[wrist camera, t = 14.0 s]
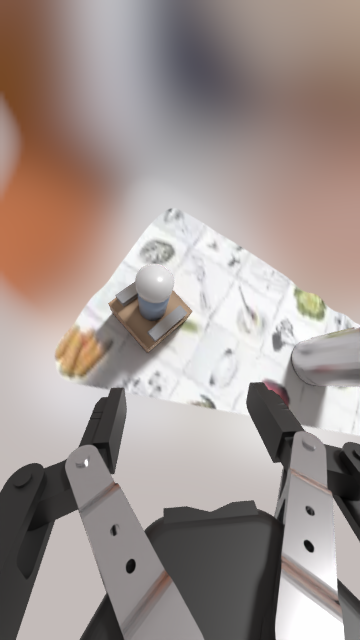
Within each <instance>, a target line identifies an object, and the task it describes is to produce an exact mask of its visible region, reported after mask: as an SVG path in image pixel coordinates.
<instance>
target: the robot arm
mask: <svg viewBox="0 0 360 640" xmlns="http://www.w3.org/2000/svg"><path fill="white" fill-rule="evenodd" d="M292 363H293V367H294V370H295V371H296V373H297V375H298V376H299V377H300V378H301V379H302V380H303V381H304V382H306V383H308V384H310V385H316V386H345V387H360V328H354V327H353V328H349V329H345V330H341V331H337V332H333V333H329V334H325V335H321V336H317V337H313V338H311V339H310V340H306V341H302V342H300V343H299V344H297V345H296V346H295V348H294V350H293V353H292ZM246 404H247V409H248V412H249V414H250V416H251V418H252V420H253V422H254V424H255V426H256V428H257V430H258V432H259V434H260V436H261V438H262V440H263V442H264V444H265V446H266V448H267V450H268V453H269V455H270V457H271V459H272V461H273V462H274V463H276V462H281V463H282V465H283V470H282V476H281V483H280V490H279V495H278V502H277V507H276V512H275V515H274V517H273V516H272V515H270V514H268V513H266V512H264V511H262V510H259V509H257V508H256V506H255V503H254V501H241V502H232V503H230V504H227V505H226V506H223V507H221V508H219V509H217V510H215V511H212V512H208V511H204V510H199V509H194V508H190V507H187V506H186V507H176V508H164V517H162V518H160V519H158V520H156V521H155V522H153V523H152V524H151V525H150V526H149V527H147V529H146V530H145V531H144V530H143V528H142V527H141V525H140V523H139V521H138V519H137V517H136V515H135V513H134V512H133V510H132V508H131V506H130V504H129V502H128V500H127V498H126V497H125V495H124V493H123V491H122V490H121V487H120V486H119V484H118V483H115V482H114V480H113V478H112V476H111V474H114V473H115V469H116V463H117V459H118V454H119V449H120V444H121V439H122V434H123V429H124V424H125V419H126V410H127V408H126V398H125V390H124V388H111V390H110V393H109V396H108V397H103V398H101V399H100V400H99V401H98V402H97V403H96V405H95V408H94V410H93V413H92V415H91V417H90V420H89V423H88V425H87V427H86V430H85V433H84V435H83V438H82V440H81V443H80V445H79V447H78V448H77V449H76V450H74V451H73V452H72V453H71V454H70V455H69V457H68V458H67V459H66V460H65V461H62V462H60V463H57V464H55V465H52V466H49V467H47V468H43V466H42V465H41V464H38V463H32V464H28V465H26V466H24V467H22V468H20V469H19V470H17V471H16V472H15V473H14V474H13V475H12V476H11V477H10V478H9V479H8V480H7V482H6V483H5V485H4V487H3V489H2V490H1V492H0V640H16V637H17V634H18V631H19V628H20V625H21V622H22V619H23V616H24V613H25V610H26V607H27V604H28V601H29V598H30V594H31V592H32V588H33V585H34V582H35V580H36V576H37V574H38V570H39V567H40V564H41V561H42V558H43V555H44V552H45V549H46V546H47V543H48V540H49V537H50V534H51V531H52V528H53V525H54V522H55V520H56V519H58V518H60V517H62V516H65V515H67V514H69V513H71V512H73V511H75V510H79V513H80V516H81V519H82V522H83V525H84V527H85V531H86V533H87V536H88V539H89V542H90V545H91V548H92V551H93V554H94V557H95V560H96V563H97V566H98V569H99V572H100V575H101V578H102V581H103V584H104V587H105V590H106V595H105V597H104V598H103V600H102V602H101V604H100V605H99V607H98V609H97V610H96V612H95V614H94V616H93V617H92V619H91V621H90V623H89V624H88V626H87V628H86V630H85V631H84V633H83V635H82V636H81V638H80V640H360V601H359V600H358V599H357V598H356V597H355V596H354V595H353V594H352V593H351V592H350V591H349V590H348V589H347V588H346V587H345V586H344V585H343V584H342V583H341V582H340V581H339V580H338V579H337V575H336V574H337V573H336V554H335V535H334V515H333V498H334V499H335V501H336V503H337V505H338V506H339V508H340V510H341V511H342V513H343V515H344V516H345V518H346V519H347V521H348V523H349V525H350V526H351V528H352V530H353V531H354V533H355V534H356V536H357V538H358V539H359V541H360V444H357V443H353V442H348V443H345V444H344V446H343V448H338V447H334V446H329V445H325V444H323V443H322V442H321V441H320V440H319V439H318V438H317V437H316V436H314V435H313V434H311V433H308V432H305V431H304V429H303V428H302V426H301V425H300V423H299V422H298V421H297V419H296V418H295V417H294V415H293V414H292V412H291V411H290V410H289V408H288V407H287V406H286V404H284V402H283V400H282V399H281V397H280V396H279V395H278V394H276V393H275V392H274V391H272V390H268V388H267V387H266V386H265V384H264V383H263V382H255V383H250V385H249V390H248V395H247V401H246ZM332 496H333V497H332Z"/></svg>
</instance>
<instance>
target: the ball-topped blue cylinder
mask: <svg viewBox="0 0 360 640" xmlns="http://www.w3.org/2000/svg"><path fill="white" fill-rule="evenodd" d="M135 282H136V290H137V293H138V302H139V311H140V314H141V315H142V316H143V317H144V318H145V319H147V320H150V321H156V320H159V319H161V318H162V317H163V316H164V314H165V312H166V308H167V305H168V302H169V298H170V295H171V293H172V291H173V287H174V277H173V275H172V273H171V272H170V271H169V270H168V269H167V268H166V267H164V266H162V265H158V264H149V265H146V266H144V267H143V268H141V269H140V270H139V271H138V273H137V275H136V280H135Z"/></svg>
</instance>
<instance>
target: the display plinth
mask: <svg viewBox="0 0 360 640" xmlns="http://www.w3.org/2000/svg"><path fill="white" fill-rule="evenodd" d="M108 304H109V306H110V308H111V311H112V313H113V314H114V315H115V316H116V318H117V319H118V320H119V321H120V322H121V323H122V324H123V326H124V327H125V328H126V329H127V330H128V331H129V332H130V334H131V335H132V336H133V337H134V338H135V339H136V340H137V342H138V343H139V344H140V345H141V346H142V347H143V348H144V350H145V351H146V352H147V353H148V352H150V351H151V350H152V349H153V348H154V347H155V346H156V345H158V344H159V343H160V342H161V341H162V340H163V339H165V338H166V337H167V336H168V335H169V334H170V333H171V332H173V331H174V330H175V329H176V328H177V327H178V326H179V325H181V324H182V323H183V322H184V321H185V320H186V319H187V318H188V317H189V315H190V314H191V313H192V310H191V309H190V308H189V307H188V306H187V305H186V304H185V303H184V302H183V301H182V299H181V298H180V297H179V296H178V295H177V294H176V293H175V292H174V291H172V293H171V295H170V298H169V302H168V305H167V308H166V312H165V314H164V316H163V317H162V318H161V319H159V320H156V321H150V320H147V319H145V318H144V317H143V316H142V315H141V314H140V311H139V302H138V293H137V290H136V282H134V283H132V284H131V285H130V286H128V287H127V288H125V289H124V290H122V291H121V292H120V293H118V294H117V295H116V298H115V299H114V300H112V301H111V302H110V303H108Z"/></svg>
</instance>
